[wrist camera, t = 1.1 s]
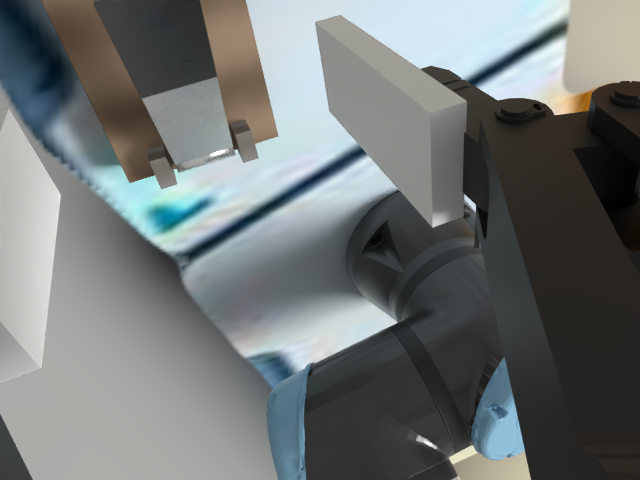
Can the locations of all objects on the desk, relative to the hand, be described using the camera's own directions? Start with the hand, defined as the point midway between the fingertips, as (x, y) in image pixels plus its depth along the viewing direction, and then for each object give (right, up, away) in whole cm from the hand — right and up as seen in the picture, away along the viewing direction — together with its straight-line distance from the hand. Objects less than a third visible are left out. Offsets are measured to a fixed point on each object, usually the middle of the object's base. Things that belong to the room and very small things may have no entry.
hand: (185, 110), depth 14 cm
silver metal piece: (-5, +6, +16) cm, 18 cm away
